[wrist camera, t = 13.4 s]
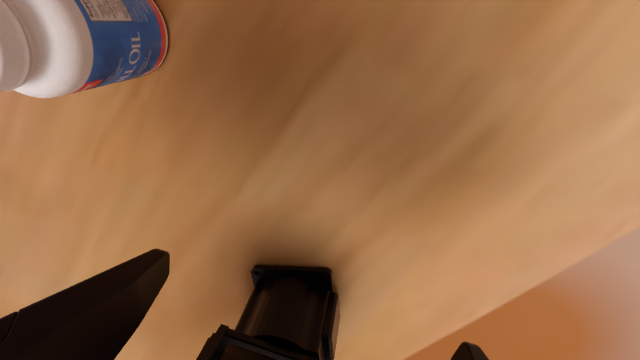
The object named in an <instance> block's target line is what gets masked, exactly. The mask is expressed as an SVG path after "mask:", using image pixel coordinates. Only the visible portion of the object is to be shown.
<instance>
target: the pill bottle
mask: <svg viewBox="0 0 640 360" xmlns="http://www.w3.org/2000/svg"><path fill="white" fill-rule="evenodd" d="M167 47H168V34H167V29H166V25H165V22H164V19H163V16H162V14H161V12H160V10H159V9H158V7H157V6H156V4H155V3H154V1H153V0H0V92H4V91H11V90H15V91H17V92H19V93H22V94H24V95H28V96H32V97H38V98H53V97H59V96H64V95H68V94H72V93H76V92H80V91H84V90H88V89H92V88H96V87H100V86H104V85H108V84H112V83H116V82H121V81H125V80H129V79H133V78H137V77H141V76H144V75H147V74H149V73H151V72H153V71H154V70H156V69H157V68H158V67H159V66H160V65H161V63H162V62H163V60H164V58H165V56H166V53H167Z"/></svg>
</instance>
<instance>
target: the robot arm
mask: <svg viewBox="0 0 640 360" xmlns="http://www.w3.org/2000/svg"><path fill="white" fill-rule="evenodd" d="M169 263H170V255H169V253H168V252H167V251H164V250H160V249H153V250H150V251H148V252H146V253H144V254H142V255H139V256H137V257H135V258H133V259H131V260H128V261H126V262H124V263H122V264H119V265H117V266H115V267H113V268H111V269H108V270H106V271H104V272H102V273H100V274H97V275H95V276H93V277H91V278H89V279H86V280H84V281H82V282H80V283H78V284H75V285H73V286H71V287H69V288H67V289H64V290H62V291H60V292H58V293H56V294H53V295H51V296H49V297H47V298H44V299H42V300H40V301H38V302H36V303H33V304H31V305H29V306H27V307H25V308H22V309H20V310H19V311H18V312H13V313H11V314H9V315H7V316H5V317H2V318H0V360H114V359H115V358H116V356H117V355H118V354H119V352H120V351H121V349H122V348H123V347H124V345H125V344H126V343H127V341H128V340H129V339H130V337H131V336H132V335H133V333H134V332H135V331H136V329H137V328H138V326H139V325H140V323H141V322H142V320H143V318H144V317H145V315H146V313H147V312H148V310H149V308H150V307H151V305H152V303H153V302H154V300H155V298H156V297H157V295H158V293H159V292H160V290H161V288H162V287H163V285H164V283H165V282H166V280H167V278H168V275H169ZM257 271H259V272H257ZM251 274H252V278H253V283H254V289H253V292H252V294H251V296H250V298H249V300H248V302H247V304H246V307H245V309H244V311H243V313H242V315H241V317H240V320H239V322H238V324H237V326H236V328H235V330H233V329H230V328H229V326H226V325H223V324H221V325H220V327H219V328H218V330H217V332H216V333H213V334H212V336H211V337H210V338H208V339H207V341H206V343H205V345H204V347H203V349H202V351H201V352H200V354H199V356H198V357H197V359H196V360H333V359H334V356H335V349H336V341H337V334H338V327H339V319H340V312H339V299H338V294H337V293H336V292H333V281H332V272H331V271H330V270H329V269H327V268H310V267H289V266H268V265H255V266H254V267H253V269H252V271H251ZM323 274H326V275H327V276H325V275H323ZM451 360H489V359H488V358H487V356H486V355H485V354H484V352H483V351H482V350H481V348H480V347H479V346H478V345H475V344H472V343H469V342H462V343H461V345H460V346H459V347H458V349H457V350H456V352H455V353H454V355H453V356H452V358H451Z"/></svg>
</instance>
